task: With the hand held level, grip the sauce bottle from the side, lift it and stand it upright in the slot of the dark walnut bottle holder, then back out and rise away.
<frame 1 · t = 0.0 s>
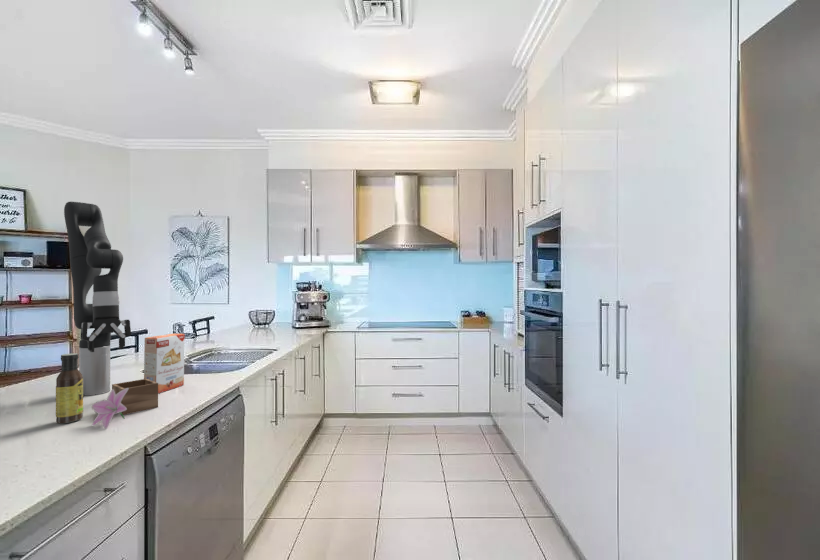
hand: (106, 350, 143), 17 cm above the counter, tool pointing down, fingers open, 8 cm apart
sauce bottle: (69, 421, 121), on the counter
bottle holder: (135, 408, 133), on the counter
cracker box: (164, 390, 156), on the counter
lily: (110, 424, 119), on the counter
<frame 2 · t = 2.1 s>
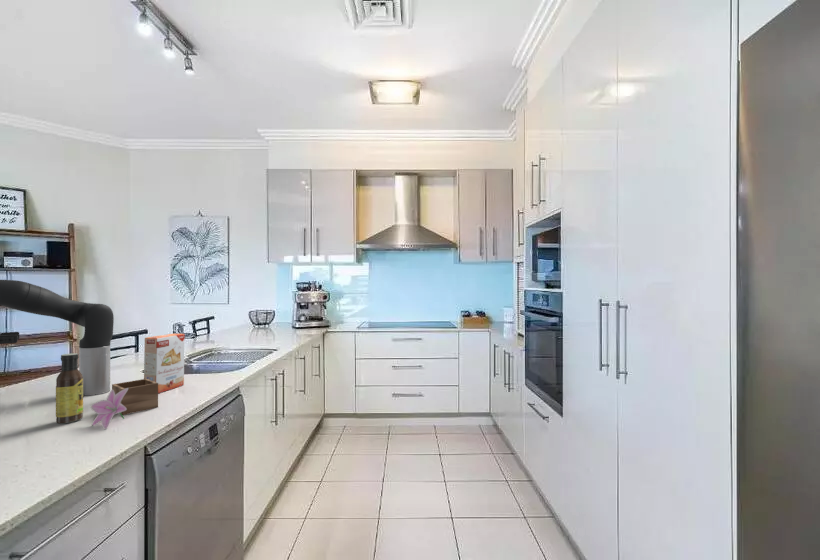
hand: (18, 337, 113), 26 cm above the counter, tool horizontal, fingers open, 8 cm apart
nothing on the counter moved.
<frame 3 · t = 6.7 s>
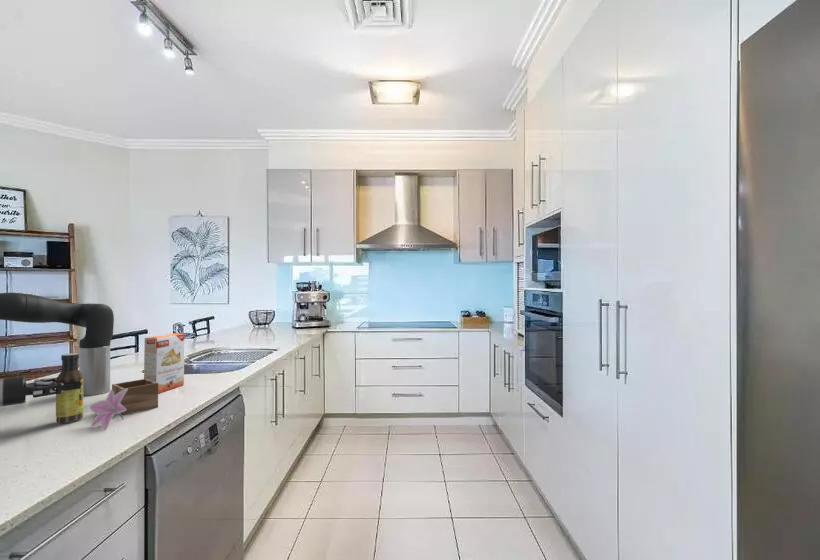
hand: (80, 382, 122), 11 cm above the counter, tool horizontal, fingers closed on sauce bottle, 6 cm apart
sauce bottle: (69, 421, 121), on the counter, touching gripper
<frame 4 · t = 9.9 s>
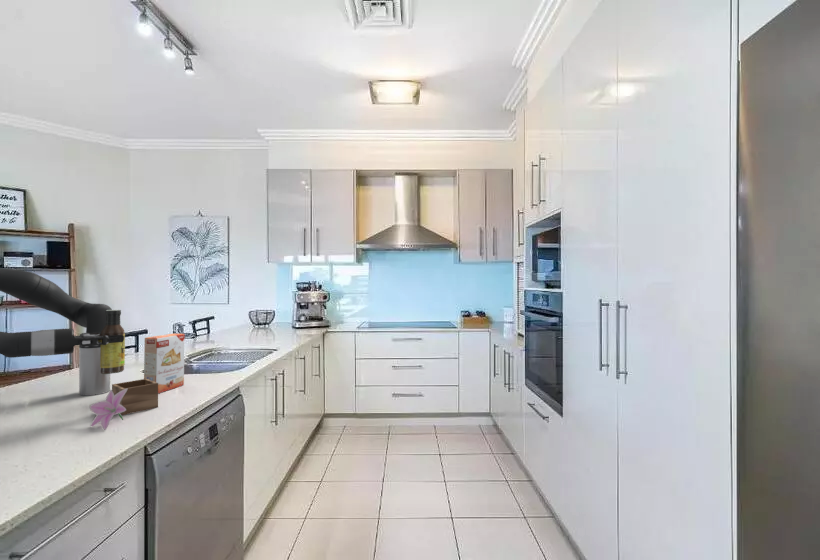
hand: (121, 337, 130), 24 cm above the counter, tool horizontal, fingers closed on sauce bottle, 6 cm apart
sauce bottle: (112, 373, 128), point 12 cm above the counter, touching gripper
everything else where it was.
when the fingers open (15 cm above the counter, at t = 13.0 s): sauce bottle drops 1 cm, resting on bottle holder.
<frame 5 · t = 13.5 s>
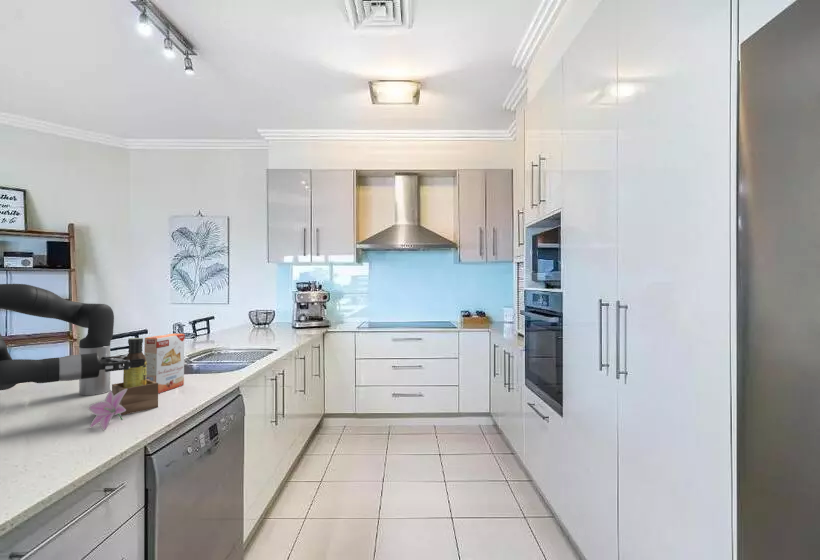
hand: (142, 360, 134), 16 cm above the counter, tool horizontal, fingers open, 8 cm apart
sauce bottle: (134, 399, 132), point 3 cm above the counter, touching bottle holder
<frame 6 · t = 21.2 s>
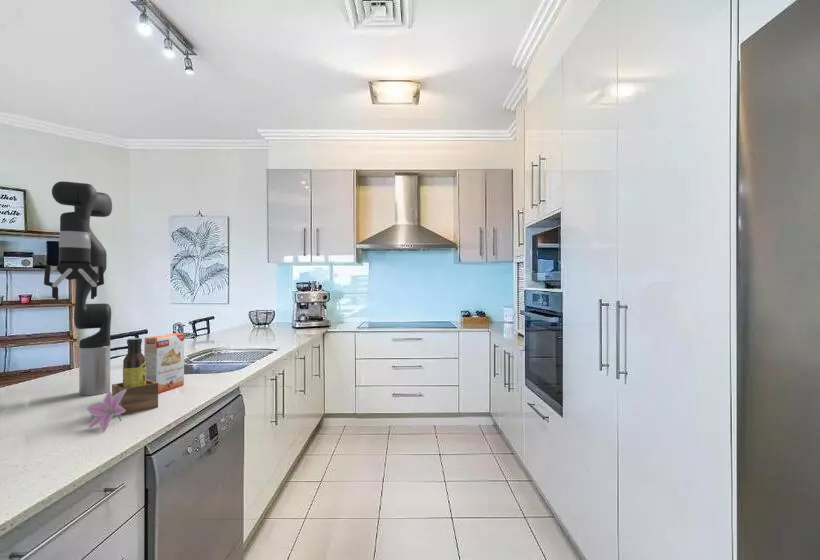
hand: (74, 299, 125), 36 cm above the counter, tool pointing down, fingers open, 8 cm apart
at the end: sauce bottle 0.3 cm off-centre on the bottle holder, point 2.8 cm above the bottle holder's base; sauce bottle tilted 0°; the gripper is holding nothing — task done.
